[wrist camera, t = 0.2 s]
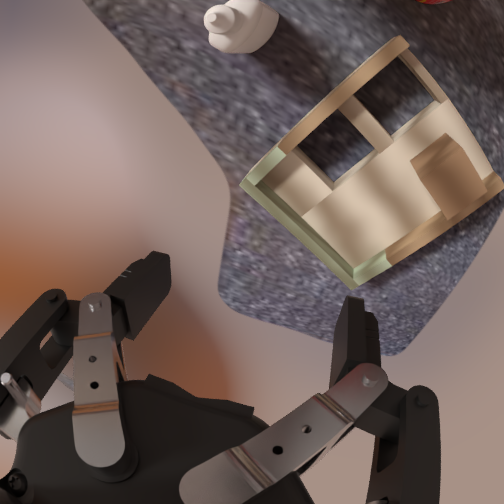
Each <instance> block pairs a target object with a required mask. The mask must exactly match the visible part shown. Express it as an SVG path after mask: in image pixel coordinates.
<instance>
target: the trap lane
mask: <svg viewBox="0 0 504 504" xmlns="http://www.w3.org/2000/svg"><path fill="white" fill-rule="evenodd" d="M409 46H410V45H409V44H408V43H407V42H406V41H405V39H404V38H403V37H402V36H401V35H399V36H396V37H394V38H392V39H390V40H389V41H388V42H387V43H386V44H385V45H383V46H382V47H381V48H380V49H379V50H377V51H376V52H375V53H374V54H373V55H372V56H370V57H369V58H368V59H367V60H366V61H365V62H364V63H362V64H361V65H360V66H359V67H358V68H357V69H356V70H354V71H353V72H352V73H351V74H350V75H349V76H348V77H347V78H346V79H344V80H343V81H342V82H341V83H340V84H339V85H338V86H337V87H336V88H334V89H333V90H332V91H331V92H330V93H329V94H328V95H327V96H326V97H325V98H324V99H323V100H321V101H320V102H319V103H318V104H317V105H316V106H315V107H314V108H313V109H312V110H311V111H310V112H309V113H308V114H307V115H306V116H305V117H303V118H302V119H301V120H300V121H299V122H298V123H297V124H296V125H295V126H294V127H293V128H292V129H291V130H290V131H289V132H288V133H287V134H286V135H285V136H284V137H283V138H282V139H281V140H280V141H279V142H278V143H277V144H276V145H275V146H274V147H273V148H272V149H271V150H270V151H269V152H268V153H267V154H266V155H265V156H264V157H263V158H262V159H261V160H260V161H259V162H258V163H257V164H256V165H255V166H254V167H253V168H252V169H251V170H250V171H249V173H248V174H247V175H246V177H245V178H244V179H243V181H242V182H241V183H240V184H239V186H240V187H241V188H242V189H244V190H245V191H246V192H247V193H248V194H249V195H250V196H251V197H253V198H254V199H255V200H256V201H257V202H258V203H259V204H260V205H261V206H263V207H264V208H265V209H266V210H267V211H268V212H269V213H270V214H271V215H272V216H274V217H275V218H276V219H277V220H278V221H279V222H280V223H281V224H282V225H283V226H284V227H285V228H287V229H288V230H289V231H290V232H291V233H292V234H293V235H294V236H295V237H296V238H297V239H298V240H299V241H301V242H302V243H303V244H304V245H305V246H306V247H307V248H308V249H309V250H310V251H311V252H312V253H313V254H314V255H315V256H316V257H318V258H319V259H320V260H321V261H322V262H323V263H324V264H325V265H326V266H327V267H328V268H329V269H330V270H331V271H332V272H333V273H334V274H335V275H336V276H337V277H338V278H339V279H340V280H341V281H342V282H344V283H345V284H346V285H347V286H348V287H349V288H350V289H351V290H353V289H354V288H356V287H358V286H360V285H361V284H363V283H365V282H366V281H368V280H370V279H371V278H373V277H375V276H376V275H378V274H380V273H381V272H383V271H385V270H386V269H388V268H390V267H391V266H393V265H394V264H396V263H398V262H399V261H401V260H402V259H404V258H406V257H407V256H409V255H410V254H412V253H413V252H415V251H417V250H418V249H420V248H421V247H423V246H424V245H426V244H427V243H429V242H430V241H432V240H433V239H435V238H436V237H438V236H439V235H441V234H442V233H444V232H445V231H447V230H448V229H449V228H451V227H452V226H454V225H455V224H457V223H458V222H459V221H461V220H462V219H464V218H465V217H466V216H468V215H469V214H471V213H472V212H473V211H475V210H476V209H478V208H479V207H480V206H482V205H483V204H484V203H486V202H487V201H488V200H490V199H491V198H492V197H494V196H495V195H496V194H498V193H499V192H500V191H501V190H503V189H504V184H503V182H502V180H501V178H500V177H499V176H498V175H497V174H496V173H495V172H494V171H493V169H492V167H491V165H490V163H489V162H488V160H487V158H486V156H485V154H484V153H483V151H482V149H481V147H480V146H479V144H478V142H477V141H476V139H475V137H474V136H473V134H472V132H471V131H470V129H469V128H468V126H467V125H466V123H465V122H464V120H463V119H462V117H461V116H460V114H459V113H458V111H457V110H456V108H455V107H454V105H453V104H452V103H451V101H450V100H449V98H448V97H447V96H446V94H445V93H444V92H443V90H442V89H441V88H440V86H439V85H438V84H437V83H436V81H435V80H434V79H433V77H432V76H431V75H430V74H429V73H428V71H427V70H426V69H425V68H424V66H423V65H422V64H421V63H420V62H419V61H418V59H417V58H416V57H415V56H414V55H413V54H412V53H411V52H410V50H409V49H408V47H409ZM397 56H398V57H399V58H400V59H401V61H402V62H403V63H404V64H405V65H406V66H407V67H408V68H409V70H410V71H411V72H412V73H413V74H414V75H415V76H416V78H417V79H418V80H419V81H420V82H421V84H422V85H423V86H424V87H425V89H426V90H427V91H428V92H429V94H430V95H431V96H432V97H433V99H434V101H433V102H432V103H430V104H429V105H428V106H427V107H425V108H424V109H423V110H422V111H421V112H419V113H418V114H417V115H416V116H414V117H413V118H412V119H411V120H410V121H408V122H407V123H406V124H405V125H403V126H402V127H401V128H400V129H398V130H397V131H396V132H395V133H394V134H392V135H390V134H389V133H388V132H387V131H386V129H385V128H384V127H383V126H382V125H381V124H380V123H379V121H378V120H377V119H376V118H375V117H374V116H373V115H372V114H371V113H370V111H369V110H368V109H367V108H366V107H365V106H364V105H363V104H362V103H361V102H360V101H359V100H358V99H357V98H356V97H355V96H354V95H353V94H354V93H355V92H356V91H357V90H358V89H359V88H361V87H362V86H363V85H364V84H365V83H366V82H367V81H369V80H370V79H371V78H372V77H373V76H374V75H376V74H377V73H378V72H379V71H380V70H381V69H383V68H384V67H385V66H386V65H387V64H388V63H390V62H391V61H392V60H393V59H394V58H396V57H397ZM337 108H338V109H339V110H340V111H341V113H342V114H343V115H344V116H345V117H346V118H347V119H348V120H349V121H350V122H351V123H352V124H353V125H354V126H355V127H356V128H357V129H358V130H359V131H360V132H361V134H362V135H363V136H364V137H365V138H366V139H367V140H368V141H369V142H370V143H371V145H372V146H373V147H374V148H375V149H374V150H373V151H372V152H370V153H369V154H368V155H367V156H365V157H364V158H363V159H362V160H361V161H359V162H358V163H357V164H356V165H354V166H353V167H352V168H351V169H349V170H348V171H347V172H346V173H345V174H343V175H342V176H341V177H340V178H338V179H337V180H336V181H335V182H333V181H332V180H331V179H330V178H329V177H328V176H327V175H326V174H325V173H324V172H323V171H322V170H321V169H320V168H319V167H318V166H317V165H316V164H315V163H314V162H313V161H312V160H311V159H310V158H309V157H308V156H307V155H306V154H305V153H304V152H303V151H302V150H301V149H300V148H299V147H298V146H297V145H298V144H299V143H300V142H301V141H302V140H303V139H304V138H305V137H306V136H307V135H309V134H310V133H311V132H312V131H313V130H314V129H315V128H316V127H317V126H318V125H319V124H320V123H322V122H323V121H324V120H325V119H326V118H327V117H328V116H329V115H330V114H331V113H333V112H334V111H335V110H336V109H337ZM444 133H447V134H448V135H449V136H450V137H451V138H452V139H454V140H455V141H456V142H457V143H458V144H459V145H460V146H461V147H462V148H463V149H464V151H465V152H466V154H467V156H468V157H469V159H470V161H471V162H472V164H473V166H474V167H475V169H476V171H477V173H478V174H479V176H480V178H481V180H482V182H483V183H484V185H485V187H486V189H487V192H486V193H485V194H483V195H482V196H481V197H479V198H478V199H477V200H475V201H474V202H473V203H471V204H470V205H469V206H467V207H466V208H465V209H463V210H462V211H460V212H459V213H458V214H456V215H455V216H453V217H452V218H451V219H449V220H447V218H446V217H445V215H444V214H443V212H442V211H441V209H440V208H439V206H438V205H437V203H436V202H435V200H434V199H433V197H432V196H431V195H430V193H429V192H428V190H427V189H426V188H425V186H424V185H423V183H422V182H421V181H420V179H419V177H418V175H417V173H416V172H415V170H414V168H413V166H412V164H411V162H410V160H411V159H413V158H414V157H415V156H416V155H418V154H419V153H420V152H422V151H423V150H424V149H425V148H427V147H428V146H429V145H430V144H432V143H433V142H434V141H436V140H437V139H438V138H439V137H441V136H442V135H443V134H444Z"/></svg>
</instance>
